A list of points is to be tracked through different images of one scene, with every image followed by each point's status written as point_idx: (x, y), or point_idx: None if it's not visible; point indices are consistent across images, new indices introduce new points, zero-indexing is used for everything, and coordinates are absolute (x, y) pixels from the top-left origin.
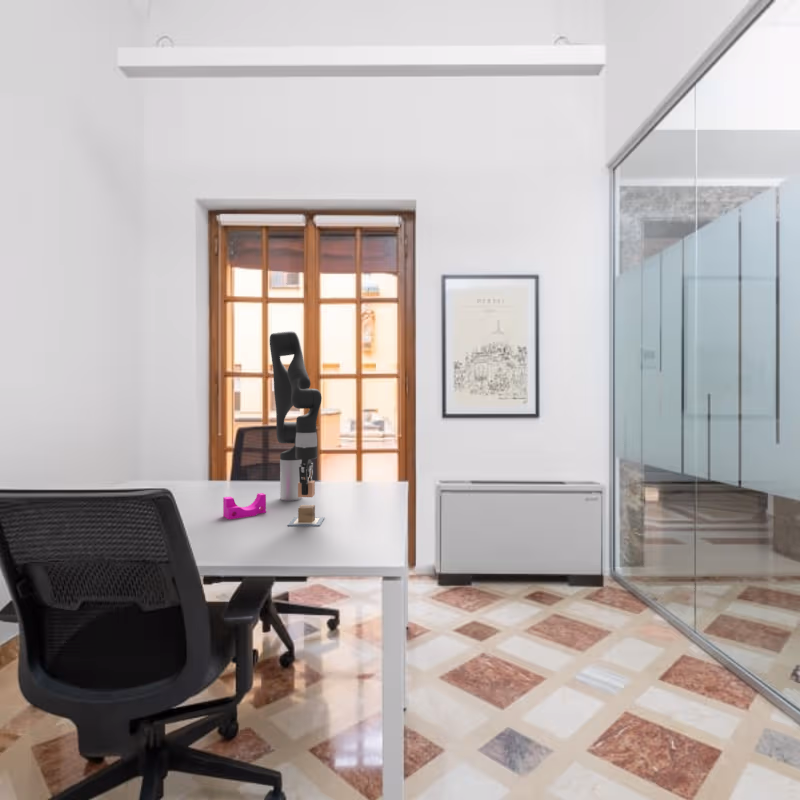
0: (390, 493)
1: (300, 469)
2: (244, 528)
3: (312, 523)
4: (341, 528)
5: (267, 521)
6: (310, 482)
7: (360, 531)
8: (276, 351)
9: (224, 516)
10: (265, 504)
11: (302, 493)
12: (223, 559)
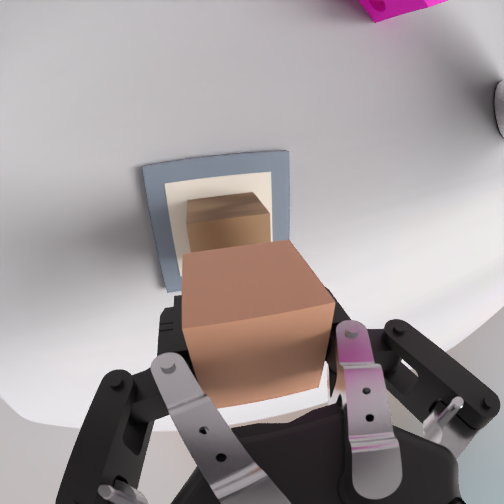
0: (485, 317)
1: (66, 500)
2: (113, 4)
3: (180, 263)
4: None
5: (241, 41)
6: (227, 397)
7: None
8: None
9: None
10: (397, 13)
11: (165, 308)
12: None
